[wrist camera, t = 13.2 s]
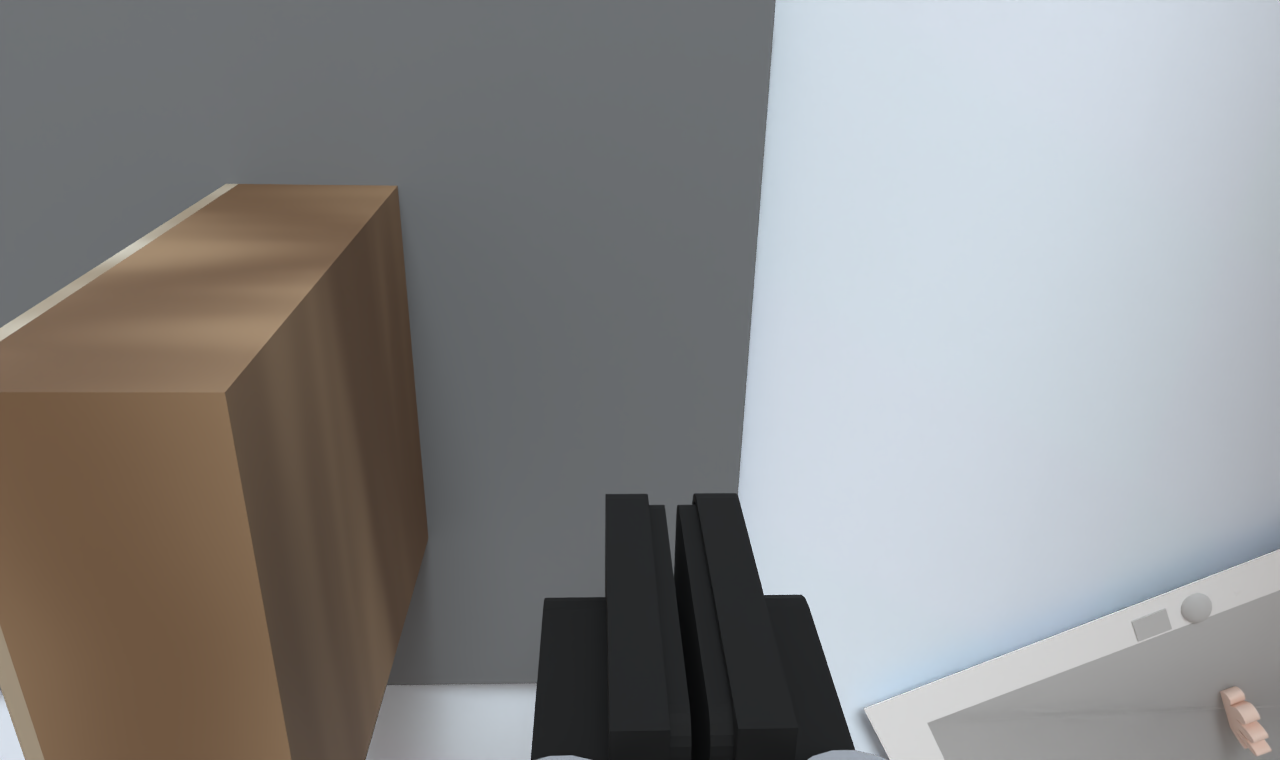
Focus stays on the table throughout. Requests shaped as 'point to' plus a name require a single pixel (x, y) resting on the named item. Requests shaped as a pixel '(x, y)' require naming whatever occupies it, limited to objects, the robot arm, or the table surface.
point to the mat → (449, 239)
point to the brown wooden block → (214, 486)
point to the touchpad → (1116, 685)
